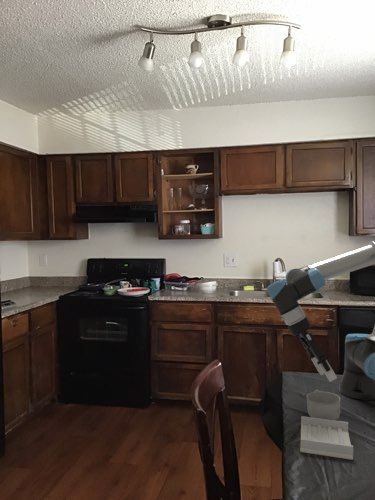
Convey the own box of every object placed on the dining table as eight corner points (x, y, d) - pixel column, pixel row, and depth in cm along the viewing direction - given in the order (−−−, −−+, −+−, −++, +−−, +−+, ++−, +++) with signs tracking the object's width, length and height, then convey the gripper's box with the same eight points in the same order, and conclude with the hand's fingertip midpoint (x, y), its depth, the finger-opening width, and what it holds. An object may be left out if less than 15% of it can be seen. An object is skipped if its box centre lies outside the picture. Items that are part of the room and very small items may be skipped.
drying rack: (301, 427, 136) (301, 416, 136) (347, 433, 132) (348, 422, 132) (300, 451, 121) (300, 439, 121) (352, 459, 117) (353, 446, 117)
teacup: (342, 429, 135) (343, 404, 135) (307, 425, 138) (307, 401, 137) (336, 411, 149) (336, 388, 149) (304, 408, 151) (304, 385, 151)
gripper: (282, 325, 162) (311, 376, 158) (292, 327, 137) (327, 388, 134) (300, 315, 162) (329, 366, 158) (312, 316, 137) (348, 376, 133)
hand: (328, 376), depth 146 cm, fingers open, 13 cm apart
